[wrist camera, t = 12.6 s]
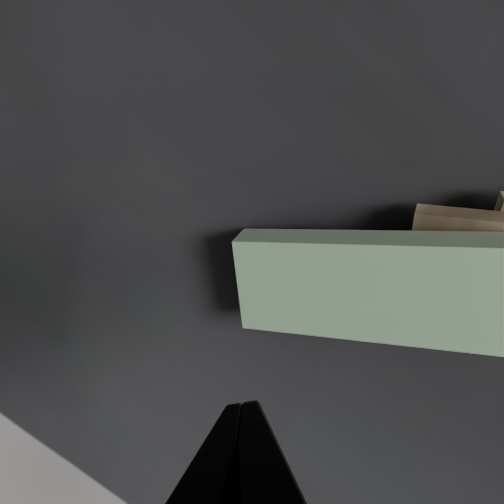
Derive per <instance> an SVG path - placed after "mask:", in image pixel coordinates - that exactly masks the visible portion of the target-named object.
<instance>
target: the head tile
mask: <svg viewBox="0 0 504 504" xmlns="http://www.w3.org/2000/svg"><path fill="white" fill-rule="evenodd" d="M232 248H233V256H234V264H235V272H236V280H237V287H238V295H239V303H240V311H241V319H242V327H243V328H248V329H257V330H266V331H275V332H284V333H293V334H302V335H311V336H320V337H329V338H338V339H347V340H356V341H365V342H374V343H383V344H392V345H401V346H410V347H419V348H428V349H437V350H446V351H455V352H464V353H473V354H482V355H491V356H500V357H504V232H487V231H402V230H318V229H243V230H242V231H241V232H240V234H239V235H238V236H237V237H236V238H235V239H234V240H233V241H232Z"/></svg>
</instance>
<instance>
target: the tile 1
mask: <svg viewBox="0 0 504 504" xmlns="http://www.w3.org/2000/svg"><path fill="white" fill-rule="evenodd" d="M412 231H487V232H504V212H503V211H492V210H482V209H471V208H460V207H449V206H438V205H428V204H417V206H416V210H415V214H414V220H413V226H412Z"/></svg>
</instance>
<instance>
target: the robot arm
mask: <svg viewBox="0 0 504 504" xmlns="http://www.w3.org/2000/svg"><path fill="white" fill-rule="evenodd" d="M165 504H307V503H306V501H305V499H304V497H303V495H302V492H301V490H300V488H299V486H298V484H297V482H296V480H295V478H294V475H293V473H292V471H291V469H290V467H289V465H288V463H287V461H286V458H285V456H284V454H283V452H282V450H281V448H280V446H279V444H278V441H277V439H276V437H275V435H274V433H273V431H272V429H271V427H270V424H269V422H268V420H267V418H266V416H265V414H264V412H263V410H262V407H261V405H260V403H259V402H258V401H257V400H254V401H248V402H244V403H243V404H242V403H236V404H229V405H227V406H226V407H225V409H224V410H223V412H222V414H221V415H220V417H219V418H218V420H217V422H216V423H215V425H214V426H213V428H212V430H211V431H210V433H209V434H208V436H207V438H206V439H205V441H204V442H203V444H202V446H201V447H200V449H199V450H198V452H197V454H196V455H195V457H194V458H193V460H192V462H191V463H190V465H189V467H188V468H187V470H186V471H185V473H184V475H183V476H182V478H181V479H180V481H179V483H178V484H177V486H176V487H175V489H174V491H173V492H172V494H171V495H170V497H169V499H168V500H167V502H166V503H165Z"/></svg>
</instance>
